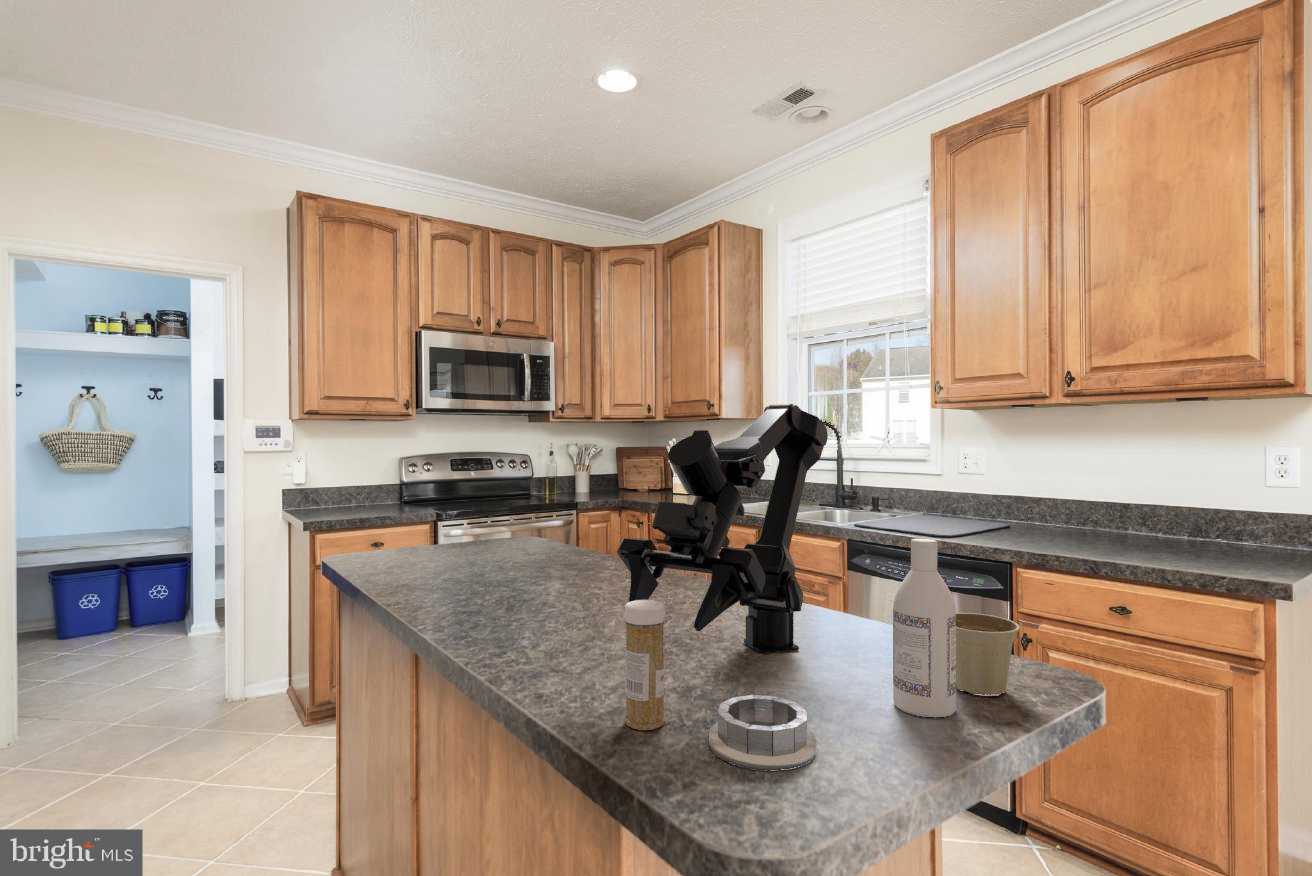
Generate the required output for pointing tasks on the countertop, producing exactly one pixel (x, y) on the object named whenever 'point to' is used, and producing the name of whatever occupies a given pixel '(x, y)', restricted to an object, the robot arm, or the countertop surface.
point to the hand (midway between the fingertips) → (662, 622)
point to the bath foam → (924, 638)
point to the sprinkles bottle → (644, 664)
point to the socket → (762, 733)
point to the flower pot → (983, 652)
